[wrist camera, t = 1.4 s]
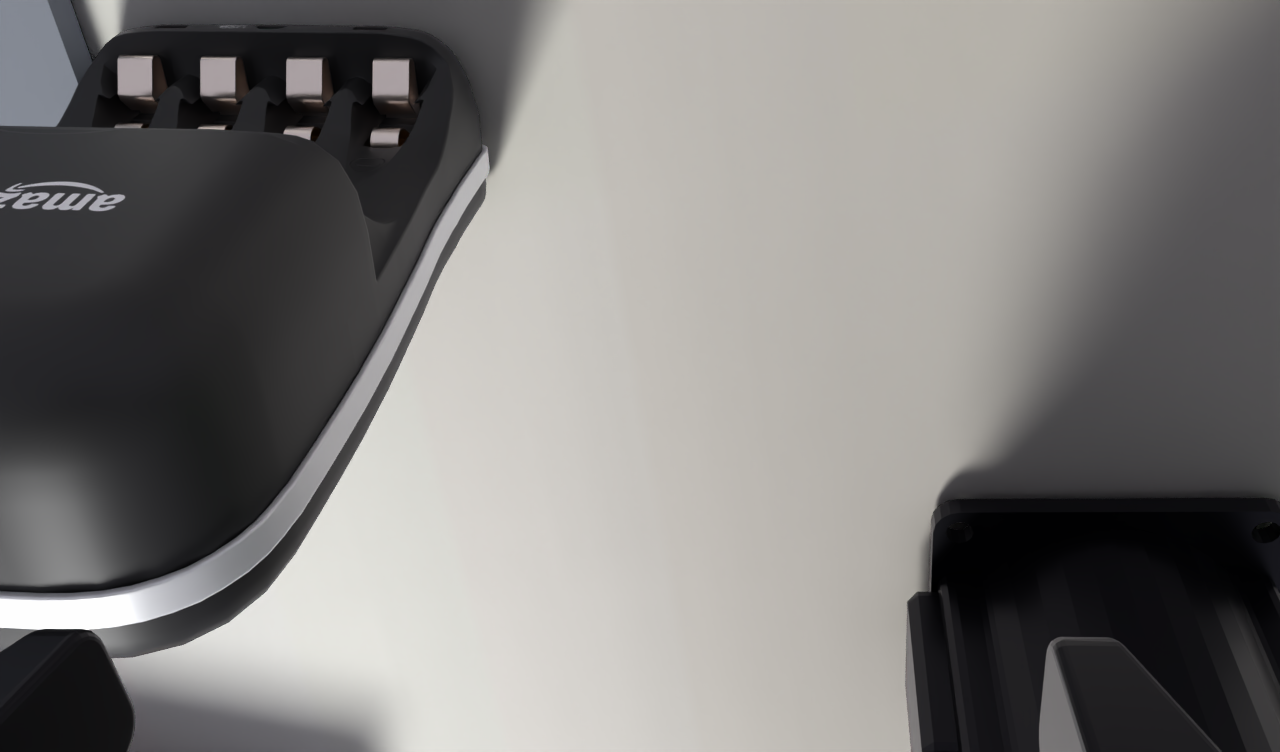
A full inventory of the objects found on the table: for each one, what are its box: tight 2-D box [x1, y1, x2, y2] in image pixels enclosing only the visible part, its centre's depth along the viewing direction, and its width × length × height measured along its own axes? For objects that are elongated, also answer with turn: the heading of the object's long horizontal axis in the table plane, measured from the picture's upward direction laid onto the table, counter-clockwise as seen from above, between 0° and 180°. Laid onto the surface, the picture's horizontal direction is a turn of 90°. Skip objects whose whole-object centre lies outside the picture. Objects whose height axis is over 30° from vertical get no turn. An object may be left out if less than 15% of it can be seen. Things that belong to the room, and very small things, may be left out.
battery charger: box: [0, 24, 490, 658], centre depth 15 cm, size 7×4×11 cm, turn 92°
